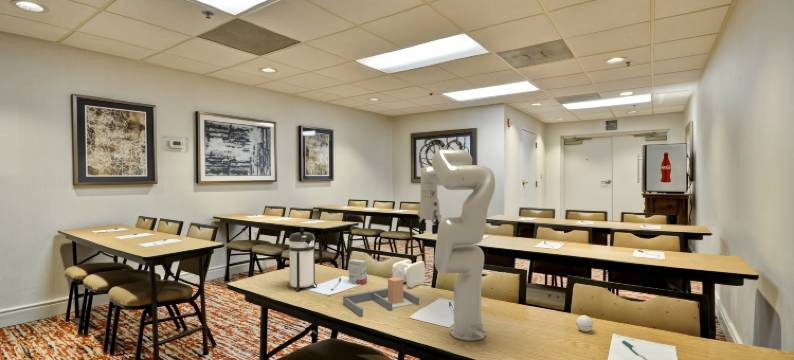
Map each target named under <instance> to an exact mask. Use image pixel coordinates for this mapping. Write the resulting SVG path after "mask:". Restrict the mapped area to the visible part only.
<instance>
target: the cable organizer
mask: <svg viewBox="0 0 794 360" xmlns="http://www.w3.org/2000/svg"><path fill="white" fill-rule="evenodd" d="M425 264H426V263H425V261H423V260H420V261H416V262H413V263H412V260H411V259H408V258H407V259H405V260H404V259H403V260H401V261H397V262H395V263H394V264H393V265H392V267H391V268H392V278H394V277H399V278H401V279H403V284H404V283H406V286H407V287H408V288H410V289H413V288H415V287H416V286H420V285H422V284H423V283H424V282H425V279H426V277H425V274H426V273H425V271H426V270H425Z"/></svg>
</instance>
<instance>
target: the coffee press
mask: <svg viewBox="0 0 794 360" xmlns="http://www.w3.org/2000/svg"><path fill="white" fill-rule="evenodd" d="M315 240H316V236H314V234H313V233H311V232H308V231H305V229H304V227H300V228H299V232H294V233H291V234H290V235H289V238H288V243H289V245H288V251H289V252H288V253H289V256H288V257H289V259H288V260H289V261H288V262H289V282H288V284H287V288H288V287H290V288H291V287H293V288H296V289H295V292H297V293H299V292H300V290H301V288H308V287H312V288H314V287H316V288H317V287H318V284H317V283H316V275H315V274H316V272H315V271H316V269H315V267H316V266H315V265H316V264H315V262H316V261H315V259H316V258H315V257H316V254H315V253H316V252H315V249H316V246H315ZM289 285H290V286H289Z"/></svg>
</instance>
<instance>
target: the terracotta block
mask: <svg viewBox="0 0 794 360" xmlns="http://www.w3.org/2000/svg"><path fill="white" fill-rule="evenodd" d="M387 288H388V297H387V298H388V301H389V302H391V303H392V304H397V303H402V302H403V290H404V283H403V279H401V278H399V277H394V278H393V277H389V278H387Z"/></svg>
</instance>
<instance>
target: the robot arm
mask: <svg viewBox="0 0 794 360" xmlns="http://www.w3.org/2000/svg"><path fill="white" fill-rule="evenodd" d="M431 165H432V166H424V167H422V168H420V200H419V211H417V212H416V213H417V216H418V217H417V218H418V222H419V232H425V231H427V221H430V222H432V224H431V233H432V235H436V241H435V242H436V243H435V251H434V267H435V269H436V271H437V272H438V273H439V274H442V275H450V274H451V275H452V274H457V276H456V277H455V281H454V283H453V325H451V327H450V328H449V334H450V335H451V336H452V337H453V338H455V339H458V340H461V341H467V342H469V341H471V342H474V341H480V340H483V339H484V338H485V337H486V336H487V335H488V331H487V330H485V328H484V323H482V280H483V279H482V277H483V276H482V275H483V270H484V264H485V254H484V251H483V249H482V248H481V247H480V246H478V245H477V244H480V243H481V242H482V241H483V238H484V235H485V231H486V230H485V229H486V224H487V217H488V211H489V207H490V204H491V201H492V199H493V196H494V194H495V188H496V179H495V174H494V172H493V170H492V169H491V168H490V167H488V166H485V165H477V164H473V156H472V155H471V154H470V153H469V152H468V151H467V150H464V149H445V148H444V149H438V150H437V151H435V152H434V154H433V155H432V159H431ZM440 184H441V185H442V186H443V187H444V188H445V189H446V190H448V191H449V190H450V191H470V190H471V191H472V192H471V193H470V194H469V195H468V196H467V197H466V199H465V200H464V201H463V204H462V208H461V214H460V216H459V217H458V216H457V217H446V218H444V219H442V217H443V216H442V215H441V210H440V200H439V197H438V185H440Z"/></svg>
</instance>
